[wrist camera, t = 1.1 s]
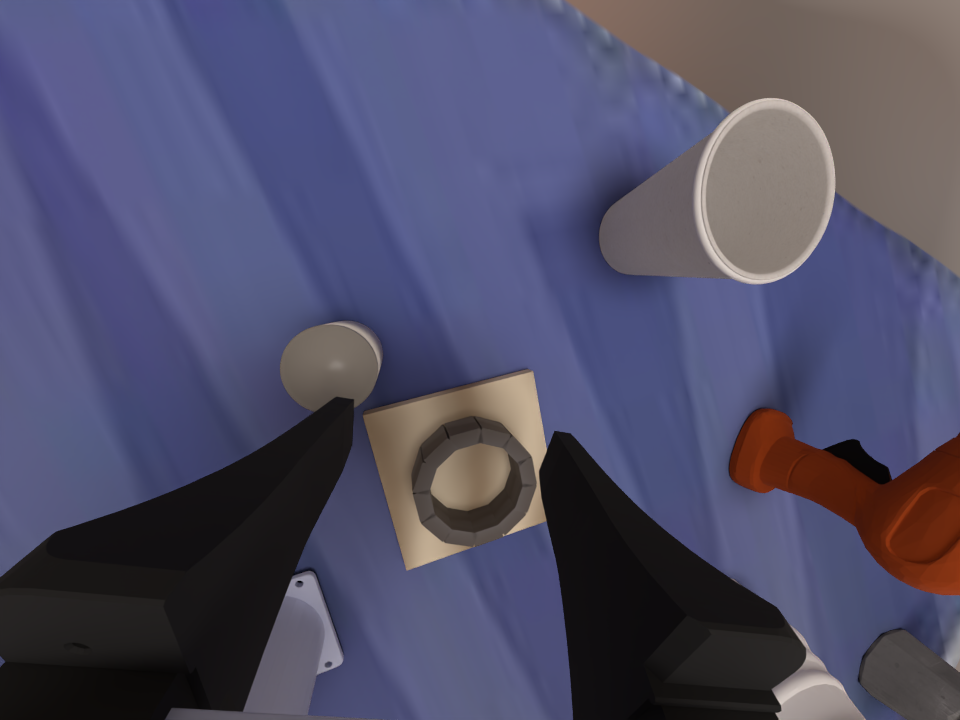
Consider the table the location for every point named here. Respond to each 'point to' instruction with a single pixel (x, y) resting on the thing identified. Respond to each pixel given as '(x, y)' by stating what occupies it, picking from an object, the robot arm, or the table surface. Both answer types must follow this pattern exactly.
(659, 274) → the dixie cup
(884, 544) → the toy drill
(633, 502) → the robot arm
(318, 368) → the grey cylinder
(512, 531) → the square plate with ring
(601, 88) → the table surface
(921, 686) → the coffeepot
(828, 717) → the honey pot
